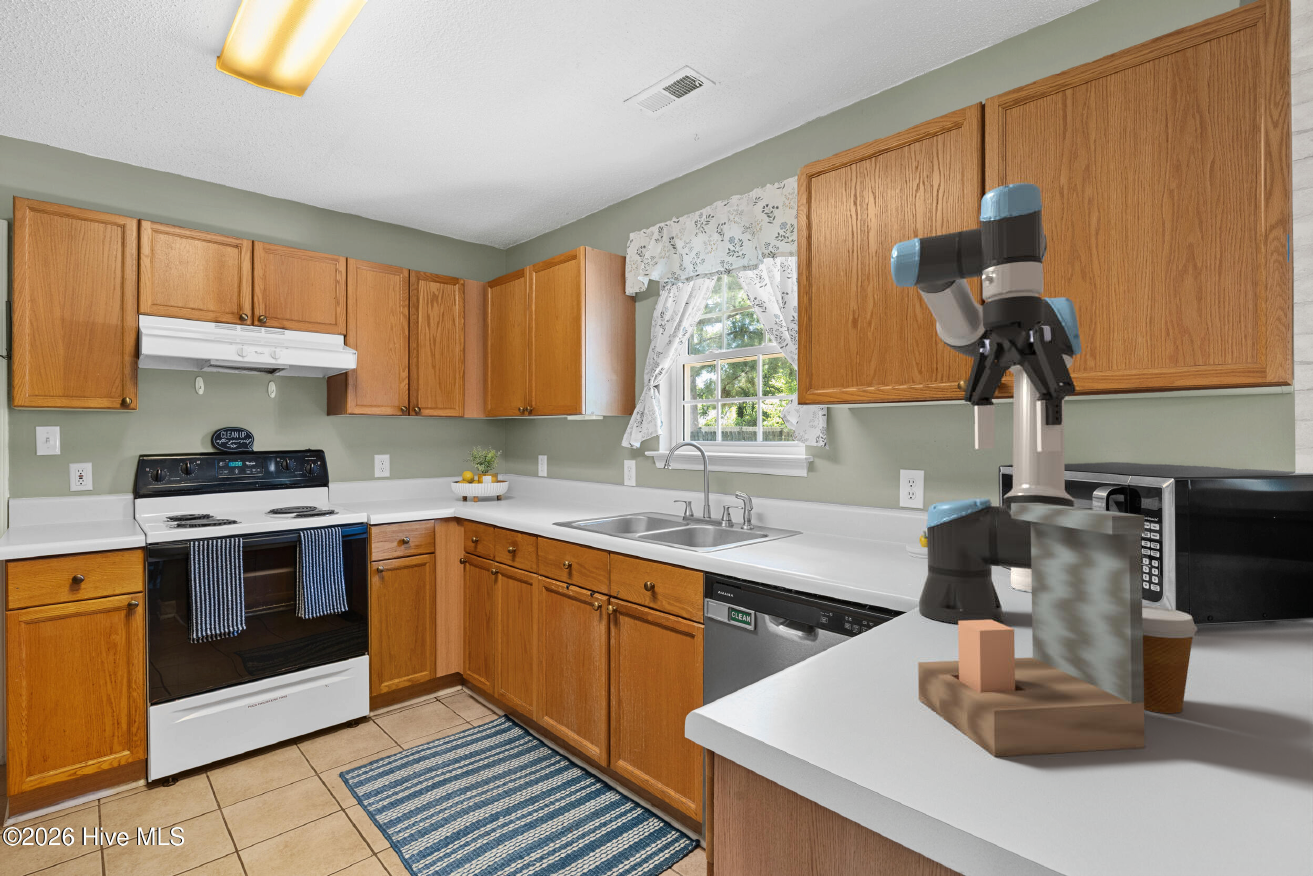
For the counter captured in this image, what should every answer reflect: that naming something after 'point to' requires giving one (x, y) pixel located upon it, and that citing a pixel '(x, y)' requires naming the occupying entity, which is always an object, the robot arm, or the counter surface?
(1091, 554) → the socket stand
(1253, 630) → the counter surface
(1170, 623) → the disposable coffee cup
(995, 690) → the peg
